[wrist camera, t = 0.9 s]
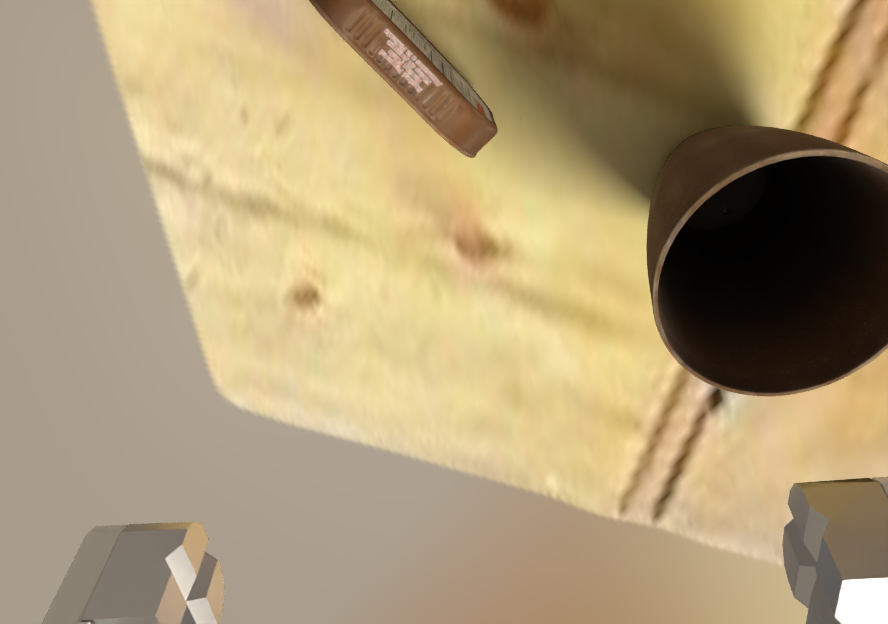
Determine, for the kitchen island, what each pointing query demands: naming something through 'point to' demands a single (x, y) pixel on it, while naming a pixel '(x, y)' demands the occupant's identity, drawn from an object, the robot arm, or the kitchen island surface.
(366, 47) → the tin
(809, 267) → the plant pot
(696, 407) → the kitchen island surface
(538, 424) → the kitchen island surface
